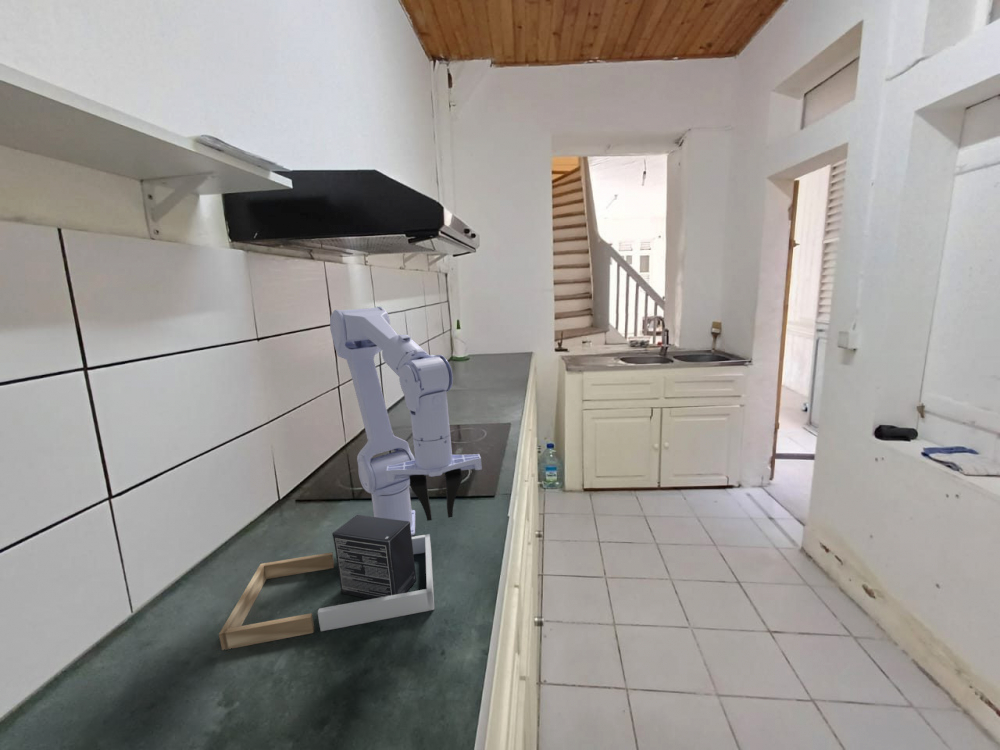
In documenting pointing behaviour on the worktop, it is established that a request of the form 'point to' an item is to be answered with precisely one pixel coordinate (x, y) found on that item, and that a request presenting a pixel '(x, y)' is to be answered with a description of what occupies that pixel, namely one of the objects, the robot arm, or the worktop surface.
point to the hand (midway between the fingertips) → (439, 515)
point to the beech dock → (274, 629)
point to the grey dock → (384, 600)
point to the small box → (374, 557)
